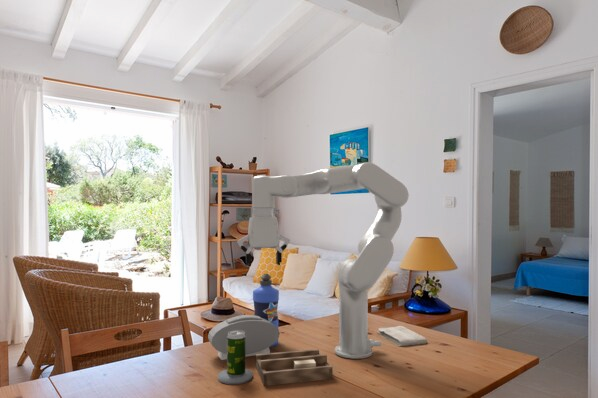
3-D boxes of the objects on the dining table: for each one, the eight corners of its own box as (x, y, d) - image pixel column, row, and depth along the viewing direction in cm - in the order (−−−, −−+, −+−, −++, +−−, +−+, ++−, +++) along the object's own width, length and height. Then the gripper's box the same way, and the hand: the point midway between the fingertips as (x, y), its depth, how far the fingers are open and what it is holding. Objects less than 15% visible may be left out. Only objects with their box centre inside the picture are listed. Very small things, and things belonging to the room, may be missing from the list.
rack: (318, 361, 138) (318, 345, 138) (332, 378, 125) (332, 361, 125) (256, 367, 133) (256, 351, 133) (263, 385, 120) (263, 367, 120)
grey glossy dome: (250, 369, 132) (250, 366, 132) (255, 382, 122) (255, 379, 122) (216, 372, 129) (216, 369, 129) (219, 386, 120) (219, 383, 120)
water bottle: (247, 343, 157) (247, 274, 157) (268, 338, 163) (268, 271, 163) (263, 349, 150) (263, 277, 150) (284, 343, 156) (284, 274, 156)
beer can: (237, 369, 130) (237, 329, 130) (249, 374, 126) (249, 332, 126) (222, 374, 126) (223, 333, 126) (235, 379, 122) (235, 336, 122)
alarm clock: (273, 347, 153) (273, 310, 153) (279, 352, 147) (279, 314, 147) (207, 355, 144) (207, 317, 144) (211, 362, 138) (211, 321, 138)
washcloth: (401, 331, 174) (401, 323, 174) (428, 344, 157) (428, 336, 157) (375, 334, 170) (375, 326, 170) (400, 348, 153) (400, 339, 153)
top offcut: (313, 367, 128) (313, 359, 128) (315, 371, 125) (315, 362, 125) (293, 369, 127) (293, 360, 127) (295, 372, 124) (295, 364, 124)
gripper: (286, 212, 149) (286, 262, 149) (236, 213, 145) (236, 264, 145) (291, 213, 142) (292, 265, 142) (238, 213, 138) (239, 267, 137)
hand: (263, 265), depth 143 cm, fingers open, 9 cm apart
